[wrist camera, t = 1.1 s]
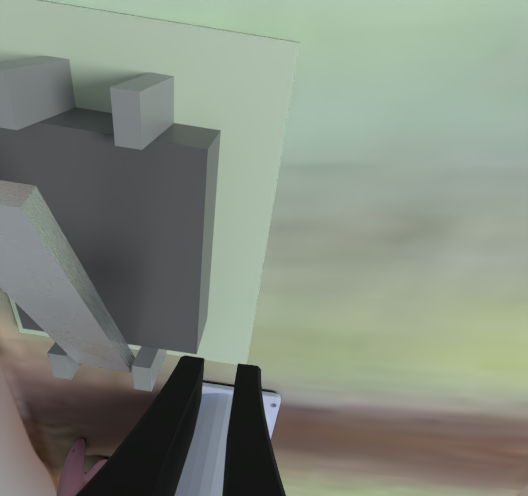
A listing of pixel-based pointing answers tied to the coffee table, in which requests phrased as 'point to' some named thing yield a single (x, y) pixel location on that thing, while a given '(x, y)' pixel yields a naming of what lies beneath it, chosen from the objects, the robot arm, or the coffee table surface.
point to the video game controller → (76, 470)
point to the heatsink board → (203, 98)
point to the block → (54, 282)
